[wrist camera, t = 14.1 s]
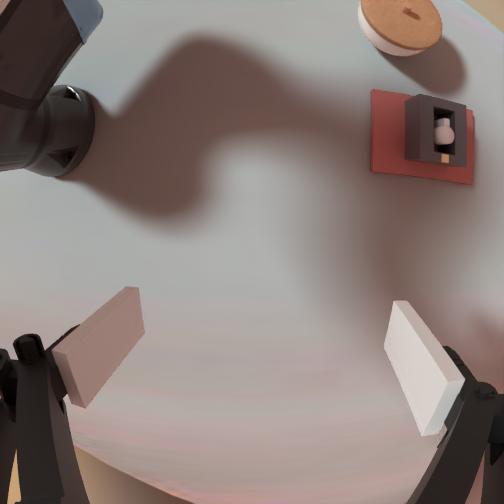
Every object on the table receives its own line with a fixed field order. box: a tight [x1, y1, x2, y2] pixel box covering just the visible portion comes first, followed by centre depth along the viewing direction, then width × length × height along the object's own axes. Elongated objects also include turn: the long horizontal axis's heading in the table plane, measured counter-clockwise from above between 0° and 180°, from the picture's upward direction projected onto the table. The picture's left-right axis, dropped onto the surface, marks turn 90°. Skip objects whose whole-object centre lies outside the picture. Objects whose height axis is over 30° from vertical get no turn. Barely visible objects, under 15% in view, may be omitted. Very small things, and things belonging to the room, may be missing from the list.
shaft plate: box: [370, 89, 473, 185], centre depth 32 cm, size 16×11×7 cm
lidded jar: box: [358, 0, 442, 56], centre depth 27 cm, size 11×11×9 cm
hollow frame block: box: [405, 94, 467, 168], centre depth 31 cm, size 8×7×5 cm
